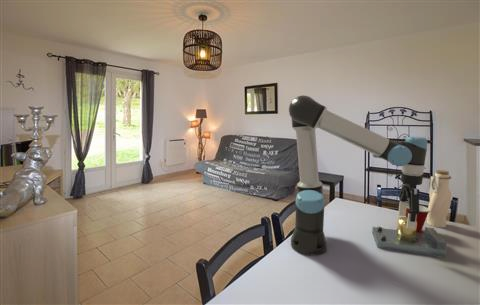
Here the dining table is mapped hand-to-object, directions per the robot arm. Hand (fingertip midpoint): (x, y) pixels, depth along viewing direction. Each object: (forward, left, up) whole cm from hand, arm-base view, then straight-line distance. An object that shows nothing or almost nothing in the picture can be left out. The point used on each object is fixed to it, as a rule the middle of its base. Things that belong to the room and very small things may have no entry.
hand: (406, 221), depth 110 cm
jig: (0, 0, -10) cm, 10 cm away
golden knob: (0, 0, -10) cm, 10 cm away
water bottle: (+20, +27, -11) cm, 36 cm away
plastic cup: (+8, +17, -11) cm, 22 cm away
